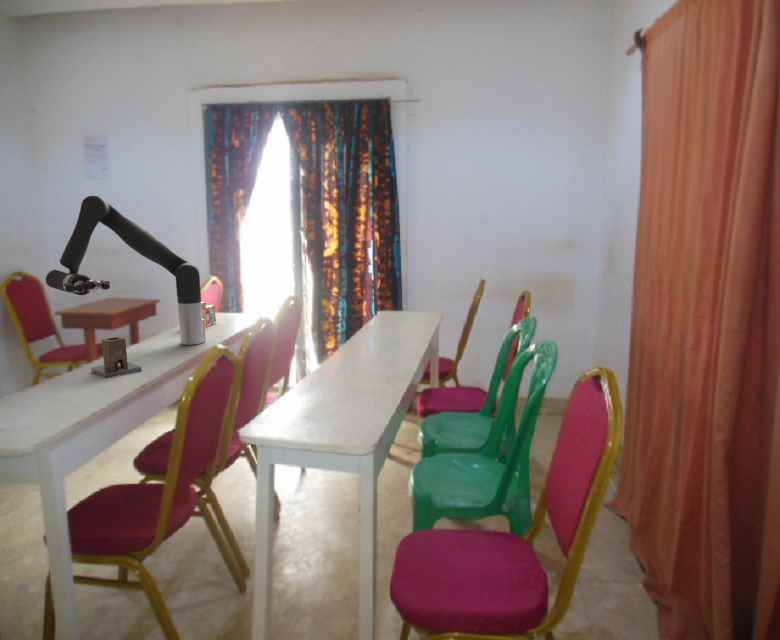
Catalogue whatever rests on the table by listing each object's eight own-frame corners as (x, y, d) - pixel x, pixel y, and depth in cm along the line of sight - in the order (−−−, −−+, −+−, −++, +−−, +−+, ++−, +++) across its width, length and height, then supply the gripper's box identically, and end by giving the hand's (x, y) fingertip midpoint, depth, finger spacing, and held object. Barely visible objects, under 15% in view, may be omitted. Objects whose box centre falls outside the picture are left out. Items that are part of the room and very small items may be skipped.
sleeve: (104, 367, 203) (101, 339, 201) (120, 364, 207) (118, 336, 205) (111, 370, 199) (108, 341, 197) (127, 367, 203) (125, 338, 201)
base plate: (91, 371, 203) (89, 353, 202) (126, 365, 211) (124, 347, 210) (105, 378, 195) (103, 359, 194) (141, 371, 203) (139, 352, 202)
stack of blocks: (204, 323, 292) (202, 298, 290) (216, 323, 291) (214, 298, 289) (182, 331, 271) (180, 305, 269) (195, 332, 270) (193, 305, 268)
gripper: (55, 275, 212) (72, 278, 201) (96, 272, 222) (114, 275, 211) (57, 296, 213) (74, 300, 202) (98, 292, 223) (116, 296, 213)
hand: (94, 287), depth 207 cm, fingers open, 8 cm apart
